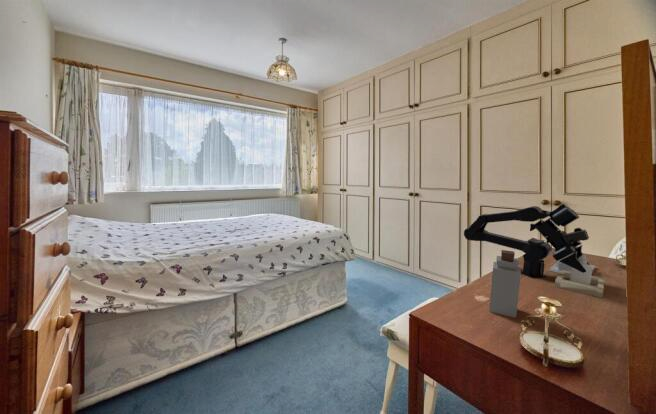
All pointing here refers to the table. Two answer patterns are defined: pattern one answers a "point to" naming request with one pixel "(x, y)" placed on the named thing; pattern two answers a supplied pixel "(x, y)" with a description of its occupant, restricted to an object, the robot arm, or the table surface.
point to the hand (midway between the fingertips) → (586, 269)
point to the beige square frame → (580, 284)
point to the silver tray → (564, 267)
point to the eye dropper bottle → (580, 276)
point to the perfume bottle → (505, 285)
